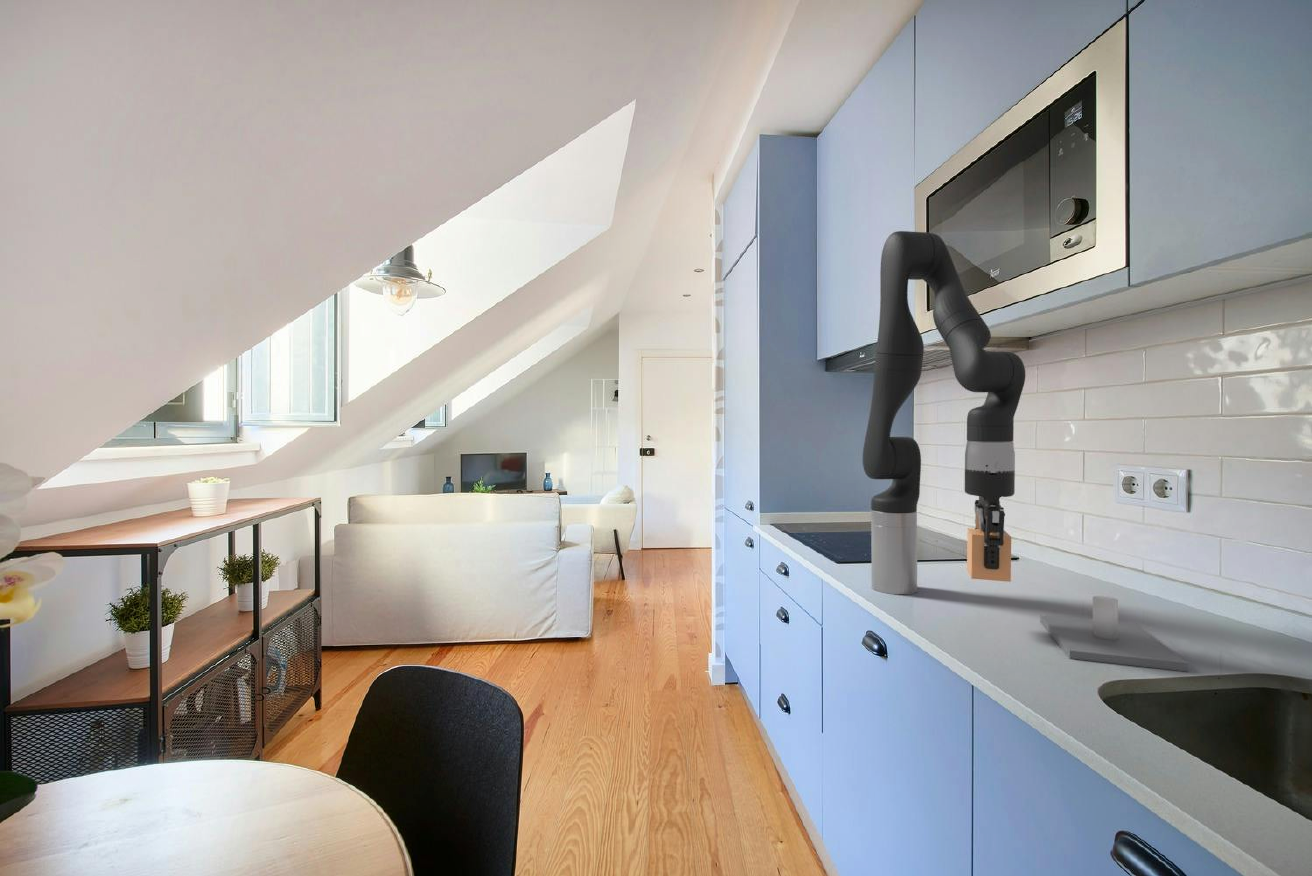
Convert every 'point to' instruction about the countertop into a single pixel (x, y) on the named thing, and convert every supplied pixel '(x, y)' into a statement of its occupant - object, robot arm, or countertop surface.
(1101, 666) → the countertop surface
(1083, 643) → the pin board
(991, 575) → the peach foam cube
